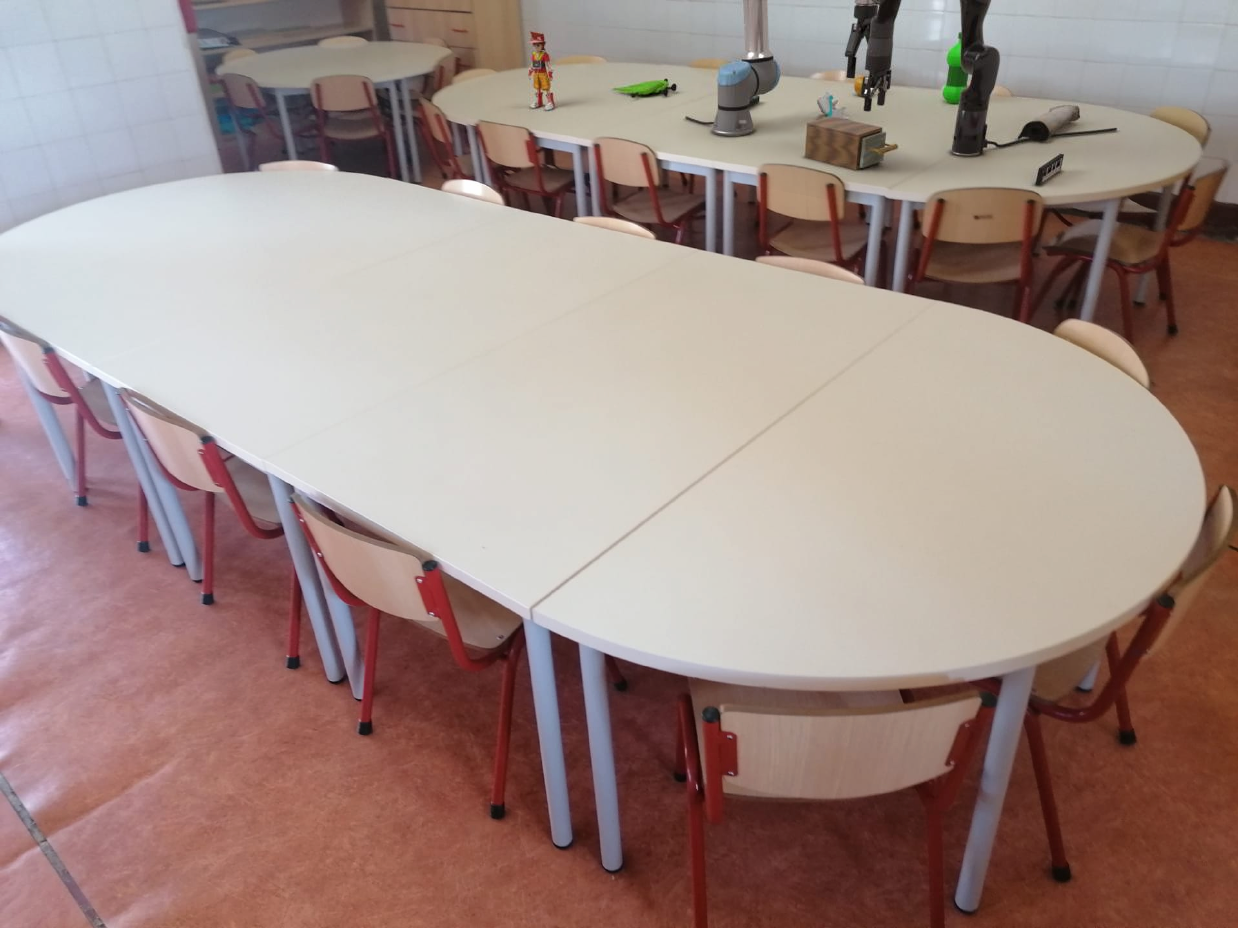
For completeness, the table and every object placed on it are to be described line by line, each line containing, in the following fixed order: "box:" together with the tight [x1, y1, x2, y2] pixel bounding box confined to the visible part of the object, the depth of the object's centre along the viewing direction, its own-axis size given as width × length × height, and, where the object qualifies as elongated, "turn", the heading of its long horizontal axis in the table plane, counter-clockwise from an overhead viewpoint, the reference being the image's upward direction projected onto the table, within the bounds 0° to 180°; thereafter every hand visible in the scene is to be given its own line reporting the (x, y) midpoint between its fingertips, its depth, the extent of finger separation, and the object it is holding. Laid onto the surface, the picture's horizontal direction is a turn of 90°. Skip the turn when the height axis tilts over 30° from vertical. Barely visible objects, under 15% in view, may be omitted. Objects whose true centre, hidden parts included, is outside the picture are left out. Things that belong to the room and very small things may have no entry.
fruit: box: [853, 75, 871, 96], centre depth 370 cm, size 8×9×8 cm
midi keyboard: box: [1035, 153, 1065, 186], centre depth 273 cm, size 18×1×5 cm, turn 138°
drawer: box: [858, 131, 899, 169], centre depth 294 cm, size 26×10×9 cm, turn 38°
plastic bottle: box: [942, 31, 969, 104], centre depth 348 cm, size 10×10×25 cm
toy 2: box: [612, 78, 677, 99], centre depth 396 cm, size 28×5×30 cm
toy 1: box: [527, 31, 556, 111], centre depth 374 cm, size 12×9×30 cm
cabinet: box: [804, 116, 883, 171], centre depth 298 cm, size 22×12×11 cm, turn 38°
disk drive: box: [749, 95, 761, 108], centre depth 367 cm, size 10×3×15 cm
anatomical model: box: [816, 91, 851, 120], centre depth 342 cm, size 15×10×10 cm
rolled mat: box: [1017, 104, 1081, 143], centre depth 313 cm, size 30×9×10 cm
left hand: (859, 74), depth 303 cm, fingers open, 13 cm apart
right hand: (873, 108), depth 283 cm, fingers open, 8 cm apart
